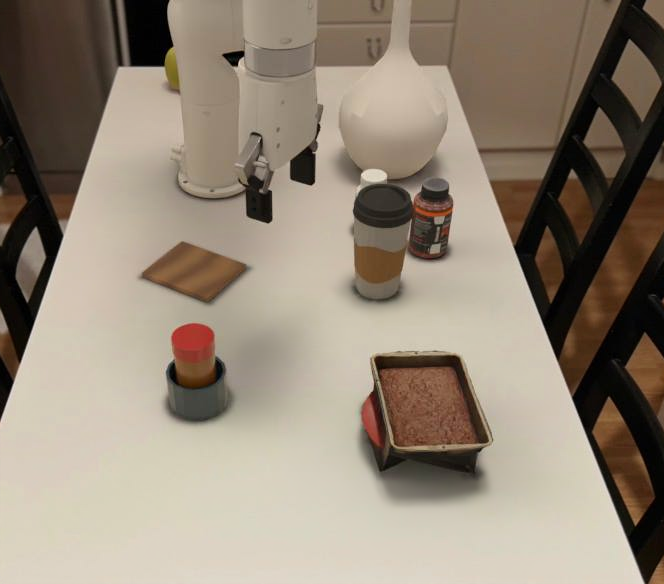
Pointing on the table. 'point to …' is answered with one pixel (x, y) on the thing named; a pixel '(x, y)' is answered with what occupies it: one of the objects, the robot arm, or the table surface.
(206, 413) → the cup
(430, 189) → the supplement bottle
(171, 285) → the wooden board
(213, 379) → the jar
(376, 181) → the pill bottle
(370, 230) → the coffee cup
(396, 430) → the baking dish
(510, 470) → the table surface
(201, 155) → the robot arm
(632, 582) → the table surface
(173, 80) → the apple
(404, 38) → the vase
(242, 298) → the table surface
